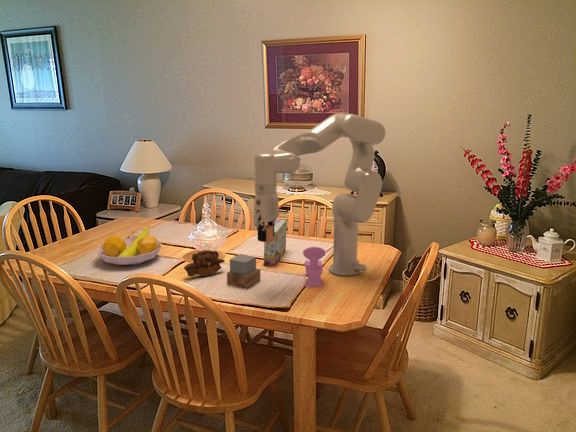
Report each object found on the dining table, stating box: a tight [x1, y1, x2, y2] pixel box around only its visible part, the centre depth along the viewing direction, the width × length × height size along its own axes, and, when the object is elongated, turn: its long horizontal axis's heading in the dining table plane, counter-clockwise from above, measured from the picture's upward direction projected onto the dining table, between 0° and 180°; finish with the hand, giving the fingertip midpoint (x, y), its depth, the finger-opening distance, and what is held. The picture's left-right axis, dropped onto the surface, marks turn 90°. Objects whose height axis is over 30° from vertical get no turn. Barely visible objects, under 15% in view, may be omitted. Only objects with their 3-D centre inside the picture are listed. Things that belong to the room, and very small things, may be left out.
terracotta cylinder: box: [260, 224, 273, 243], centre depth 170 cm, size 5×5×5 cm
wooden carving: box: [183, 249, 225, 278], centre depth 186 cm, size 16×5×10 cm, turn 126°
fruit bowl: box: [96, 224, 162, 266], centre depth 204 cm, size 28×27×11 cm
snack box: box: [263, 218, 288, 267], centre depth 206 cm, size 21×6×15 cm, turn 168°
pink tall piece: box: [302, 246, 326, 288], centre depth 180 cm, size 8×9×15 cm
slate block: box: [229, 253, 257, 275], centre depth 179 cm, size 7×7×5 cm
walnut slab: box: [226, 268, 261, 290], centre depth 180 cm, size 9×9×5 cm
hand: (266, 238), depth 170 cm, fingers closed on terracotta cylinder, 4 cm apart
